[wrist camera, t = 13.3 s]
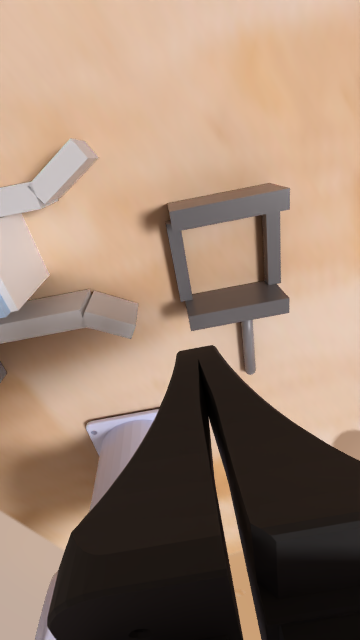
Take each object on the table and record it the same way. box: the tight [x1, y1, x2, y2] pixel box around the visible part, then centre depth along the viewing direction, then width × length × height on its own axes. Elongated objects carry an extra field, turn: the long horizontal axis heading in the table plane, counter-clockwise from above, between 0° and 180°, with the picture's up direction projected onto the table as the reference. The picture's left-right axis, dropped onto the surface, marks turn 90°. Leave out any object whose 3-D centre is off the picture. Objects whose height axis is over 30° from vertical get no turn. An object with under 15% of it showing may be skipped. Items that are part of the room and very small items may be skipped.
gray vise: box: [166, 183, 290, 375], centre depth 19 cm, size 13×7×3 cm, turn 10°
